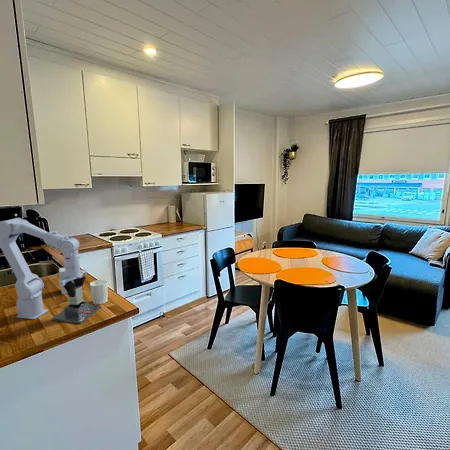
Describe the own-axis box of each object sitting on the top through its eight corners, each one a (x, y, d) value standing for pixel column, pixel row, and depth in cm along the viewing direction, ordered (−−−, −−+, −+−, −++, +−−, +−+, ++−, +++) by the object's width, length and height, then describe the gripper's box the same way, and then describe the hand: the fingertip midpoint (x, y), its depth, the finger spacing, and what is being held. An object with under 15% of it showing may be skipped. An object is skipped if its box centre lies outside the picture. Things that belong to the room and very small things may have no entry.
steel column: (69, 304, 120) (67, 288, 119) (75, 299, 124) (74, 285, 123) (77, 304, 120) (75, 289, 118) (83, 300, 124) (82, 285, 122)
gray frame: (52, 320, 118) (50, 310, 117) (75, 305, 131) (74, 296, 130) (80, 323, 115) (79, 313, 114) (101, 307, 129) (100, 298, 128)
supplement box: (77, 291, 146) (75, 269, 144) (61, 294, 142) (59, 272, 140) (76, 286, 152) (73, 265, 150) (60, 289, 148) (58, 268, 146)
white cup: (111, 301, 135) (110, 282, 133) (95, 306, 130) (93, 287, 128) (104, 296, 140) (103, 278, 139) (89, 301, 135) (87, 282, 133)
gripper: (68, 272, 111) (71, 302, 114) (91, 261, 125) (93, 288, 128) (53, 271, 112) (56, 301, 115) (77, 260, 126) (80, 287, 129)
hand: (75, 294), depth 121 cm, fingers closed on steel column, 4 cm apart
